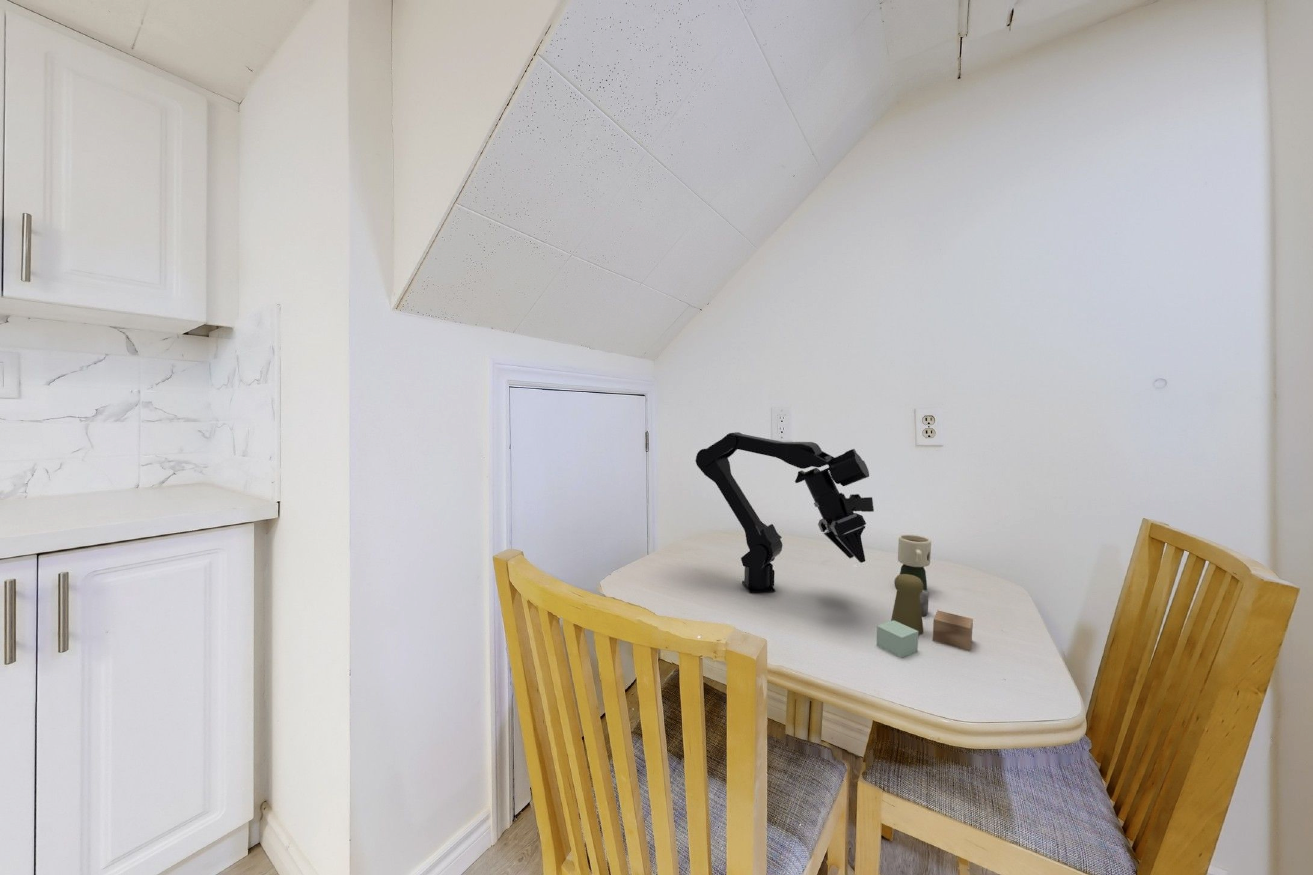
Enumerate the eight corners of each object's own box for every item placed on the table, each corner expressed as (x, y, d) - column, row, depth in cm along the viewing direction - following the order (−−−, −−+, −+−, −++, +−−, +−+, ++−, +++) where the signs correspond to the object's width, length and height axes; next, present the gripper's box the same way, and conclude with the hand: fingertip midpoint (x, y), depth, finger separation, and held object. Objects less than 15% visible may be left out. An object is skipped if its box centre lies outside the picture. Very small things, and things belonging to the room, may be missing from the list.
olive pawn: (928, 636, 92) (930, 583, 91) (895, 633, 93) (897, 580, 92) (917, 622, 98) (919, 572, 97) (886, 619, 99) (888, 569, 98)
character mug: (934, 599, 109) (937, 546, 108) (901, 596, 111) (903, 543, 110) (922, 582, 119) (924, 533, 118) (892, 579, 121) (894, 531, 120)
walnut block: (932, 641, 90) (933, 619, 90) (936, 631, 94) (937, 610, 94) (969, 651, 87) (970, 628, 86) (971, 640, 90) (972, 618, 90)
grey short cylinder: (912, 616, 100) (913, 596, 100) (897, 606, 105) (898, 587, 105) (933, 615, 101) (934, 595, 101) (917, 605, 106) (918, 586, 106)
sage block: (900, 658, 84) (901, 637, 84) (876, 645, 88) (877, 625, 88) (917, 651, 86) (918, 631, 86) (892, 639, 91) (893, 620, 91)
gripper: (871, 477, 95) (908, 549, 92) (848, 482, 113) (878, 542, 110) (820, 497, 96) (855, 570, 93) (805, 500, 114) (834, 560, 111)
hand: (857, 559), depth 101 cm, fingers open, 9 cm apart
